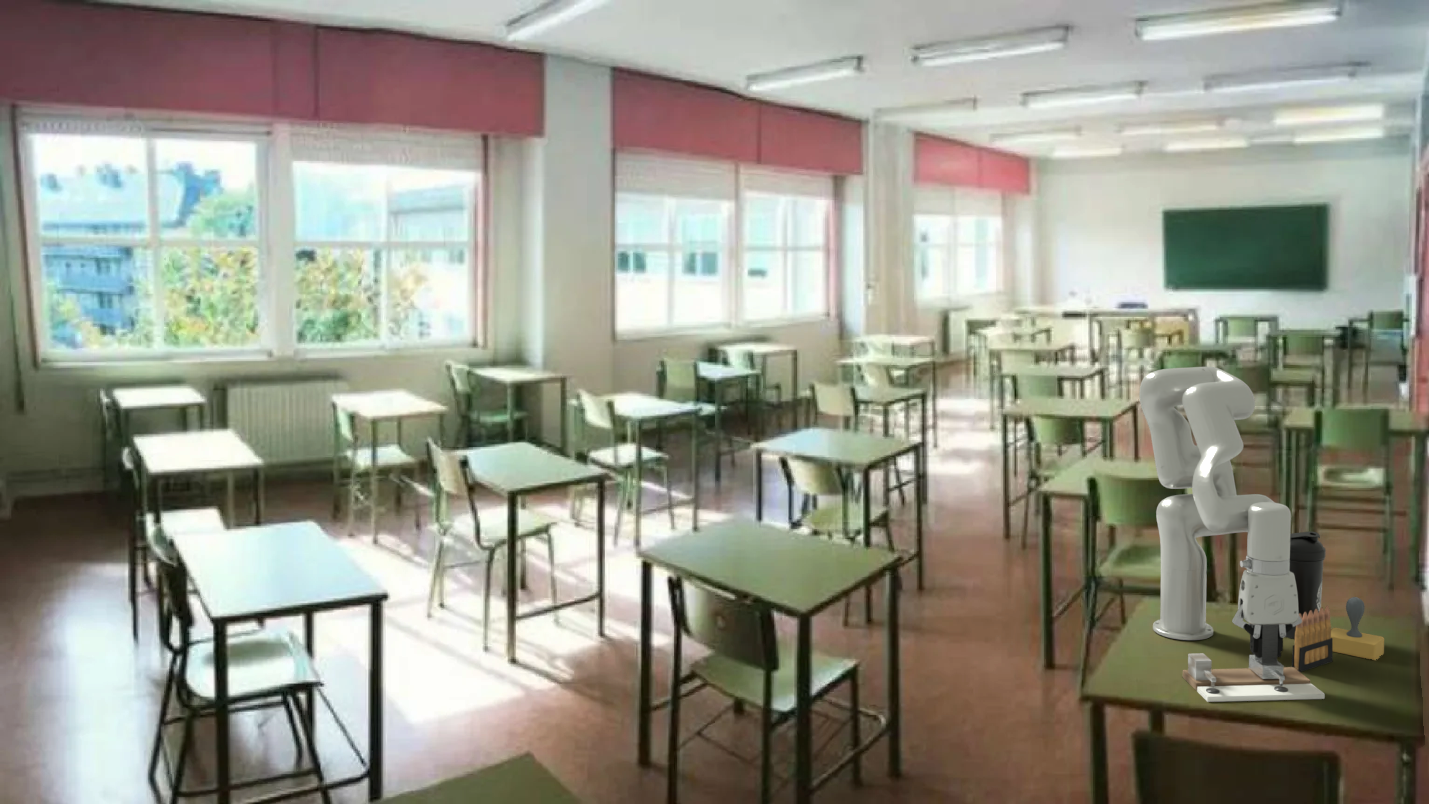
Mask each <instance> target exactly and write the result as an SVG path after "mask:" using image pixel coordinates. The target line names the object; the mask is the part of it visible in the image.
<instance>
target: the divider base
mask: <svg viewBox="0 0 1429 804" xmlns="http://www.w3.org/2000/svg"><path fill="white" fill-rule="evenodd" d="M1187 656H1188V657H1187V666H1188V667H1187V669H1183V670H1182V678H1183V679H1184V680H1185V681H1186V682H1187V683H1188V684H1189V685H1190V686H1191V687H1192V688H1193V689H1194V690H1195V691H1196V692H1197V687H1205V686H1211V687H1212V688H1214V687H1215V686H1243V685H1279V682H1280V680H1279V679H1262V678H1261V677H1259V676H1258V675H1257V674H1256V673H1255V672H1253V671H1252V670H1251V669H1250V668H1249V667H1245V668H1213V669H1212V660H1211V659H1210V657H1208V656H1207V655H1206V654H1205V653H1203V652H1202V653H1201V652H1200V653H1198V652H1197V653H1188V654H1187ZM1283 675H1284V676H1285V680H1283V684H1311V679H1309V678H1308V677H1307V676H1305V675H1304V674H1303V673H1302V672H1299V671H1298V670H1296V669H1295V668H1294V667H1292V666H1287V667H1286V666H1283Z"/></svg>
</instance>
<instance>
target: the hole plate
mask: <svg viewBox="0 0 1429 804" xmlns="http://www.w3.org/2000/svg"><path fill="white" fill-rule="evenodd" d="M1196 692H1197V693H1198V694H1199V695H1200V696H1201V697H1202V698H1203V699H1204V700H1205V701H1206V702H1207V703H1209V702H1210V703H1211V702H1212V703H1213V702H1214V703H1215V702H1247V701H1248V702H1251V701H1252V702H1253V701H1257V702H1258V701H1284V700H1285V701H1286V700H1287V701H1290V700H1322V699H1323V700H1324V699H1325V697H1326V696H1325V693H1324V692H1323V691H1322V690H1321V689H1320V688H1318V687H1316V686H1315V685H1314V684H1313V683H1310V684H1283V686H1280V685H1243V686H1215V687H1214V688H1212V687H1211V686H1205V687H1197V691H1196Z"/></svg>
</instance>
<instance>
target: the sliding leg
mask: <svg viewBox="0 0 1429 804" xmlns="http://www.w3.org/2000/svg"><path fill="white" fill-rule="evenodd" d="M1260 638H1261V639H1262V657H1261V658H1258V657H1256V656H1255V655H1254V654H1249V655H1248V668H1250V669H1251V670H1252V671H1253V672H1255V673H1256V674H1257V675H1258V676H1259V677H1261V678H1262V679H1279V680H1280V682H1279V685H1280V686H1283V680H1285V676H1284V675H1283V667H1284V664H1283V663H1281V662H1280V661H1278V657H1277V654H1278V624H1274V625H1261V630H1260Z"/></svg>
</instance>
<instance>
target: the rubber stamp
mask: <svg viewBox="0 0 1429 804" xmlns="http://www.w3.org/2000/svg"><path fill="white" fill-rule="evenodd" d="M1365 607H1366V606H1365V603H1364V600H1362V599H1361V598H1359V597H1357V596H1352V597H1350V598H1349V599H1347V601H1346V603H1345V611H1346V613H1347V616H1348V617H1347V618H1349V622H1350V627H1351V628H1350V629H1345V628H1339V627H1331V638H1333V653H1337V654H1343V655H1347V656H1352V657H1355V658H1361V659H1365V658H1366V659H1365V660H1370V659H1372V660H1371V661H1377V660H1378V659H1380V657H1379V656H1381V655H1382V656H1383V655H1384V654H1385V637H1383V636H1380V635H1375V634H1370V633H1365V632H1360V631H1359V624H1360V622H1361V620H1362V619H1363V618H1362V617H1363V616H1364V613H1365V609H1366V608H1365ZM1382 656H1381V657H1382ZM1376 659H1377V660H1376Z"/></svg>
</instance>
